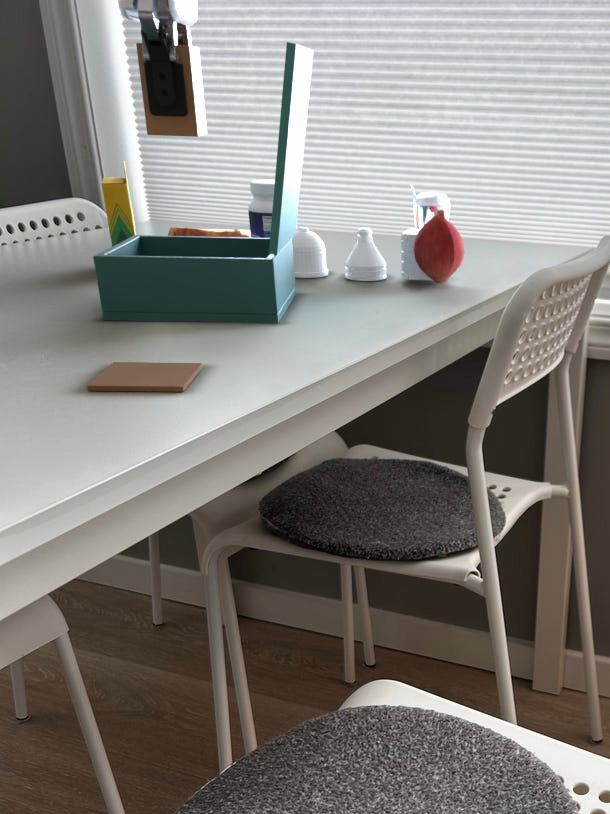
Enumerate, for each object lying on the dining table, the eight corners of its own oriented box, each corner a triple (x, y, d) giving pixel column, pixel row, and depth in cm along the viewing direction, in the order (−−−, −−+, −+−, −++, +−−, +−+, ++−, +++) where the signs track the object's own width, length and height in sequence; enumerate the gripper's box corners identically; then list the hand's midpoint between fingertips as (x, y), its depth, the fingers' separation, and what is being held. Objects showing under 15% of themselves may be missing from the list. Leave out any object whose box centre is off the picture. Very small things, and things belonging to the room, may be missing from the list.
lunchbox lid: (286, 41, 80) (296, 44, 80) (305, 48, 93) (313, 50, 93) (268, 253, 88) (277, 255, 89) (288, 232, 101) (295, 234, 101)
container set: (450, 277, 116) (450, 229, 113) (442, 285, 112) (443, 234, 109) (292, 269, 118) (289, 222, 116) (279, 276, 114) (275, 227, 111)
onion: (406, 285, 109) (405, 210, 105) (425, 278, 114) (424, 205, 110) (453, 290, 108) (454, 213, 104) (470, 282, 112) (472, 208, 108)
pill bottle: (251, 266, 119) (243, 178, 114) (296, 265, 121) (291, 179, 116) (256, 274, 114) (248, 183, 109) (303, 273, 116) (297, 183, 111)
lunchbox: (103, 320, 91) (92, 256, 88) (142, 292, 103) (134, 234, 100) (278, 323, 92) (273, 259, 89) (296, 294, 104) (292, 238, 101)
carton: (147, 134, 85) (135, 42, 81) (158, 133, 89) (148, 45, 85) (198, 136, 85) (189, 45, 82) (207, 135, 89) (199, 47, 86)
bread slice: (168, 242, 135) (164, 214, 133) (296, 242, 138) (294, 214, 136) (155, 263, 120) (150, 231, 118) (298, 262, 123) (296, 231, 121)
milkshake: (401, 271, 119) (399, 183, 114) (434, 267, 123) (434, 182, 117) (422, 276, 116) (422, 186, 111) (456, 272, 120) (457, 185, 114)
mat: (87, 390, 70) (86, 385, 70) (114, 366, 76) (113, 361, 76) (183, 391, 71) (182, 386, 70) (202, 368, 77) (201, 362, 76)
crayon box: (115, 263, 119) (99, 160, 113) (140, 262, 120) (125, 160, 114) (115, 272, 113) (97, 164, 107) (141, 272, 114) (125, 164, 108)
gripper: (127, -123, 84) (155, 112, 93) (67, -169, 70) (107, 115, 79) (213, -118, 85) (232, 115, 94) (171, -163, 70) (199, 119, 79)
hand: (175, 112), depth 86 cm, fingers closed on carton, 4 cm apart
